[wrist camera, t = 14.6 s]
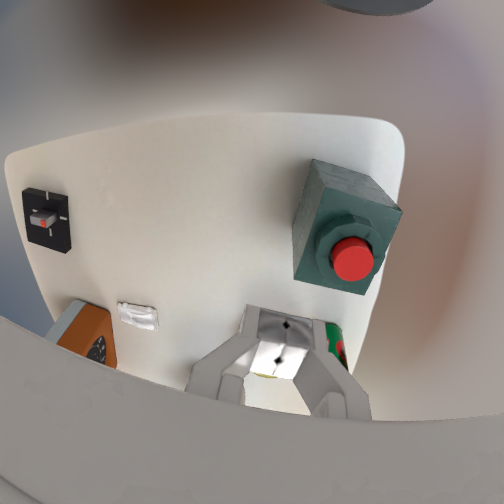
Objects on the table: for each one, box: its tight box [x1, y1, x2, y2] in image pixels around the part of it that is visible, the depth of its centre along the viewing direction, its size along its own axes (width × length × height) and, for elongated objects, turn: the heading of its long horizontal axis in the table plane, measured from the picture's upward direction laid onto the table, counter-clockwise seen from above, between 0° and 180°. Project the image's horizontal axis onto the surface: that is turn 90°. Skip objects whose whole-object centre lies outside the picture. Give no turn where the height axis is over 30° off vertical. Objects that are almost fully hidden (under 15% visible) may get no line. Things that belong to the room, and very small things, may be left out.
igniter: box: [292, 159, 403, 295], centre depth 32 cm, size 10×8×14 cm
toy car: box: [117, 303, 159, 331], centre depth 51 cm, size 5×8×2 cm, turn 87°
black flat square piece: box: [22, 188, 71, 254], centre depth 43 cm, size 11×11×2 cm
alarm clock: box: [44, 300, 117, 369], centre depth 48 cm, size 18×9×21 cm, turn 167°
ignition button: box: [332, 237, 374, 281], centre depth 26 cm, size 4×4×2 cm
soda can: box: [325, 324, 348, 371], centre depth 44 cm, size 5×5×12 cm
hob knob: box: [30, 209, 58, 228], centre depth 40 cm, size 4×1×3 cm, turn 79°
